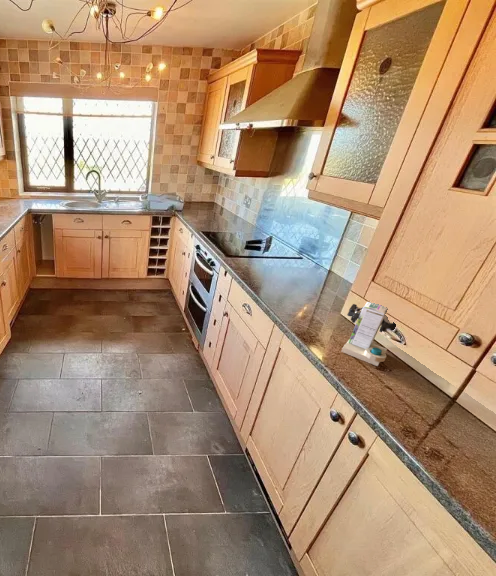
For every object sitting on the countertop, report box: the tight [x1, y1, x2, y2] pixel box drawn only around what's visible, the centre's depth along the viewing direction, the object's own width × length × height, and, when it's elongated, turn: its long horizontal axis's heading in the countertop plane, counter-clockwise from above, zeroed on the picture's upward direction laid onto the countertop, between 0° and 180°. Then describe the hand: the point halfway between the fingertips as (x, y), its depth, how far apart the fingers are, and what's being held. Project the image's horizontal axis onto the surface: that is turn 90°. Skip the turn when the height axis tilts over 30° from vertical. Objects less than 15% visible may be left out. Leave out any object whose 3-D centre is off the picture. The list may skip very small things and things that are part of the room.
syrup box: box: [348, 301, 388, 349], centre depth 102 cm, size 6×6×14 cm
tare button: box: [371, 347, 382, 356], centre depth 98 cm, size 2×2×2 cm
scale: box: [340, 338, 388, 367], centre depth 103 cm, size 11×11×4 cm
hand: (367, 324), depth 100 cm, fingers open, 7 cm apart
